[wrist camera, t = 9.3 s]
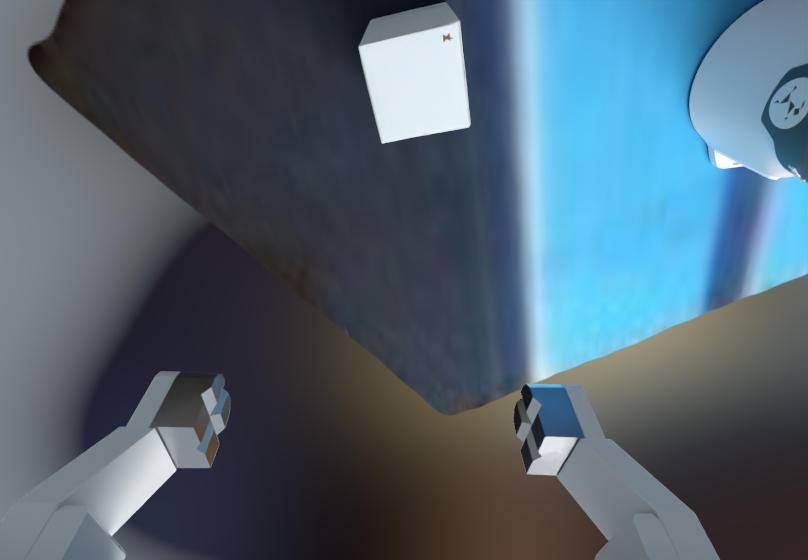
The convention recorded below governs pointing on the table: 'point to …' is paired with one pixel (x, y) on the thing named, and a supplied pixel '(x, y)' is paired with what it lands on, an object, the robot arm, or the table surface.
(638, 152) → the table surface
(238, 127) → the table surface
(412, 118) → the supplement box
